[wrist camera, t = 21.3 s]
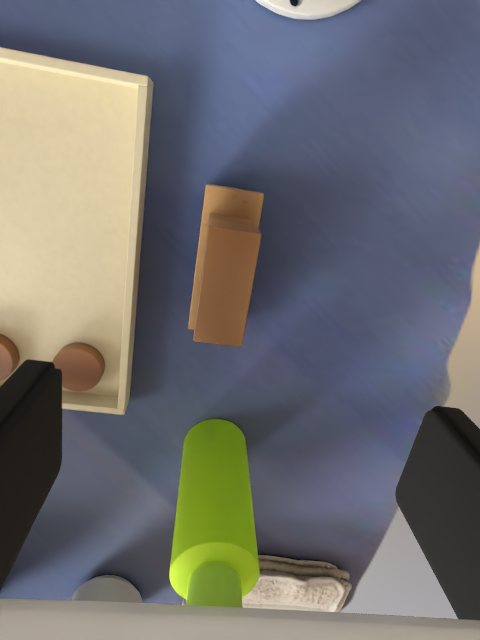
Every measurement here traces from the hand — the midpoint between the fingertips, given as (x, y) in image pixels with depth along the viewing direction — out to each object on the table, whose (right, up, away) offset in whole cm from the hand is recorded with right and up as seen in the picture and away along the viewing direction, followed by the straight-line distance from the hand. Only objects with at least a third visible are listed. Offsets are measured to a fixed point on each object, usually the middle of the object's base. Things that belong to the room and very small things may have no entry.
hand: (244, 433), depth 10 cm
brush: (-1, +8, +22) cm, 23 cm away
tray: (-15, +8, +21) cm, 27 cm away
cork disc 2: (-14, -1, +24) cm, 27 cm away
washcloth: (+2, -28, +36) cm, 46 cm away
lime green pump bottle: (-2, -9, +29) cm, 30 cm away
